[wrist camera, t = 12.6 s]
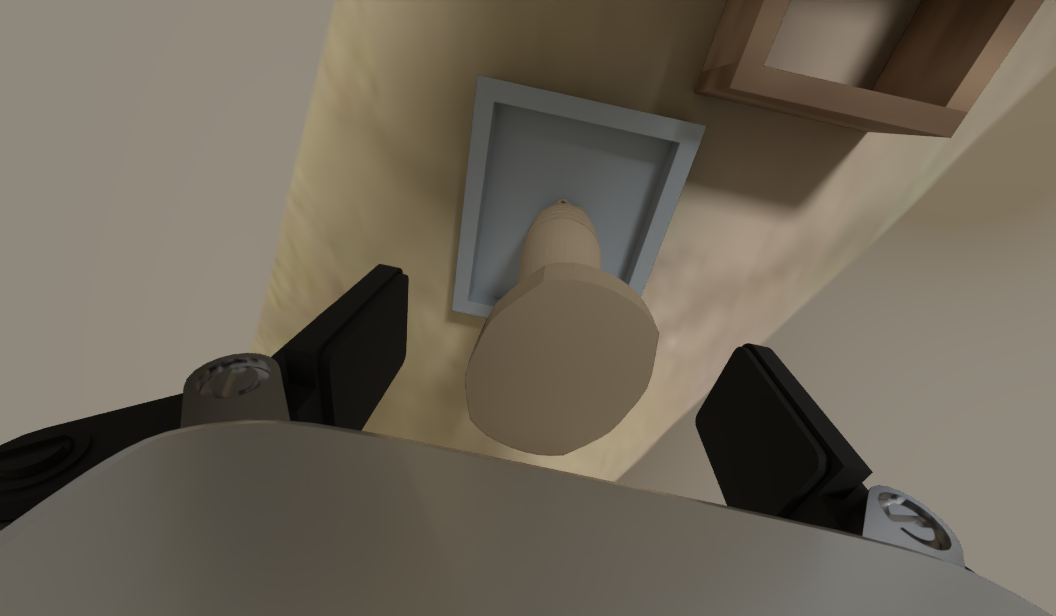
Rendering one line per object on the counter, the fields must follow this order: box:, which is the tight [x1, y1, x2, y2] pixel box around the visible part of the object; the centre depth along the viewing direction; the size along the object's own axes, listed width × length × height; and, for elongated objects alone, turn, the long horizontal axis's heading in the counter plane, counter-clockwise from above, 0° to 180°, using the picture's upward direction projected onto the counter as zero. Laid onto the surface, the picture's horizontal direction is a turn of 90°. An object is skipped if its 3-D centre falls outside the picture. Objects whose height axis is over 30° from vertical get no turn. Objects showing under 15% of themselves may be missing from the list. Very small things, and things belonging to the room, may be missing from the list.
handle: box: [465, 198, 659, 456], centre depth 17 cm, size 5×6×15 cm
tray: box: [452, 75, 707, 318], centre depth 23 cm, size 14×12×2 cm
